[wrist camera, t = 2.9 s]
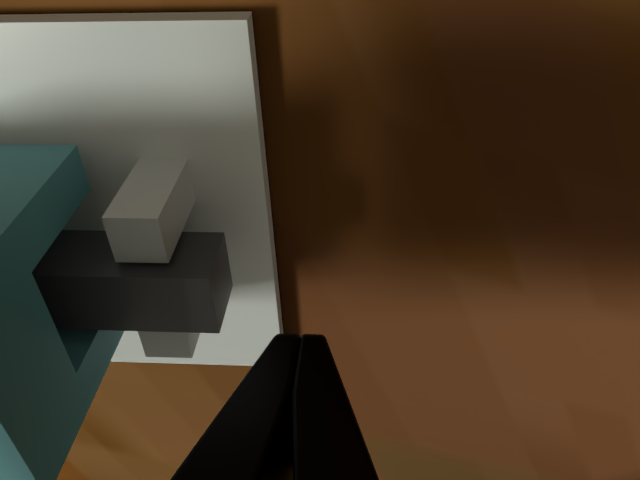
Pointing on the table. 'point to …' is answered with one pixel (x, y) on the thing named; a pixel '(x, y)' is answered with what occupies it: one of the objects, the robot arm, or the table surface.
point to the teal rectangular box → (41, 317)
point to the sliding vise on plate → (152, 178)
